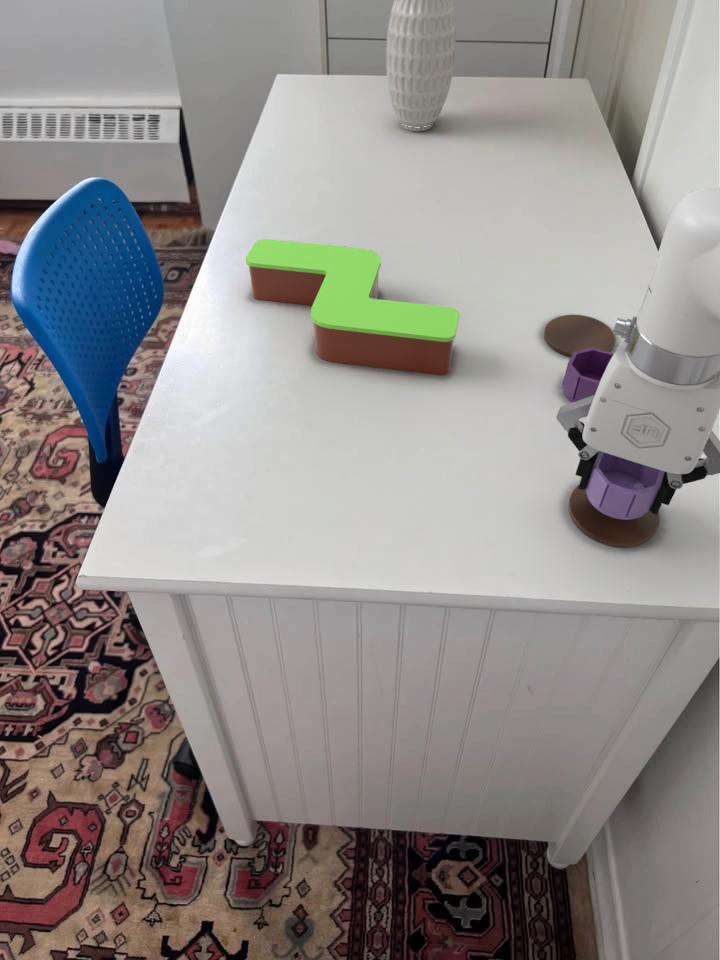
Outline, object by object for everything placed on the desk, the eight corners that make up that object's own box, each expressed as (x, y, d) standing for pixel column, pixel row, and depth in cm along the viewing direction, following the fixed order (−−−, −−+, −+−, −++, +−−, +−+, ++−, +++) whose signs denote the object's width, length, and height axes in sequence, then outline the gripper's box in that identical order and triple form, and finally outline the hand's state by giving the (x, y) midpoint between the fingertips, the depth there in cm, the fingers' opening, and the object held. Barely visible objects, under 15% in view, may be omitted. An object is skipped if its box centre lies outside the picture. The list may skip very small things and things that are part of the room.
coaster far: (620, 328, 96) (622, 324, 95) (604, 366, 90) (605, 363, 90) (554, 311, 99) (555, 308, 98) (535, 347, 93) (536, 344, 93)
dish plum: (622, 383, 88) (630, 357, 85) (609, 415, 84) (618, 388, 81) (570, 369, 90) (577, 343, 87) (556, 399, 86) (563, 373, 83)
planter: (465, 296, 101) (470, 259, 97) (450, 377, 89) (454, 339, 85) (262, 275, 106) (257, 238, 101) (220, 349, 93) (213, 311, 89)
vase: (381, 137, 138) (383, -40, 118) (388, 111, 147) (391, -58, 126) (447, 140, 137) (461, -38, 116) (450, 114, 146) (464, -56, 125)
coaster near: (665, 497, 75) (667, 493, 75) (648, 559, 70) (649, 556, 70) (581, 470, 78) (582, 466, 78) (558, 528, 73) (559, 524, 72)
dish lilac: (657, 484, 73) (669, 457, 70) (644, 528, 69) (656, 501, 66) (594, 464, 75) (604, 437, 72) (578, 506, 71) (587, 479, 68)
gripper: (560, 344, 59) (524, 488, 72) (786, 405, 54) (703, 549, 67) (584, 297, 64) (546, 441, 77) (794, 350, 58) (715, 495, 72)
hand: (620, 491), depth 72 cm, fingers closed on dish lilac, 6 cm apart
